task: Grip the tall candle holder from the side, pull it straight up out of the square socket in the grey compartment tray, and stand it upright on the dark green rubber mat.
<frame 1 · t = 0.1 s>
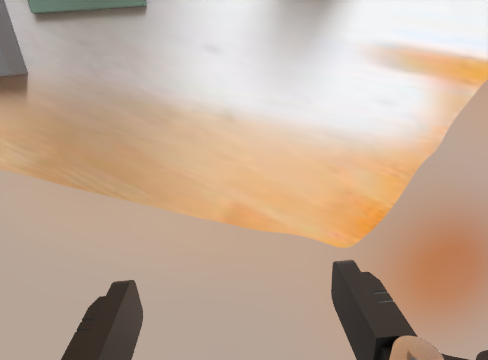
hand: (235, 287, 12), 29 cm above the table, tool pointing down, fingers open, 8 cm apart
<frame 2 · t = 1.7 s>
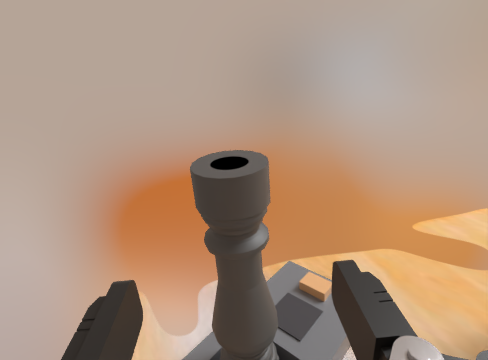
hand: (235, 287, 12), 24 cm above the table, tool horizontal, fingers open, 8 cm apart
grey compartment tray: (279, 351, 35), on the table
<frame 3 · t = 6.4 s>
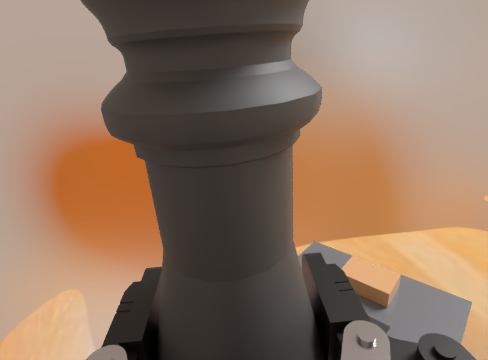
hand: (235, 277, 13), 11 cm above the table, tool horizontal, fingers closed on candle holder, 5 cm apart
when the fingers open (12 cm above the table, at t = 15.6 s): candle holder stays where it is, resting on mat.
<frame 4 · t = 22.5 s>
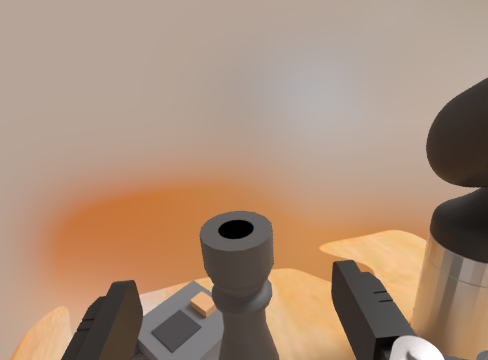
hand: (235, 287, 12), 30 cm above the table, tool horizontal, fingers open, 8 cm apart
grey compartment tray: (162, 359, 42), on the table
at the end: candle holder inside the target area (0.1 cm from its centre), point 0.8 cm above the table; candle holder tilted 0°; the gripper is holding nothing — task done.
